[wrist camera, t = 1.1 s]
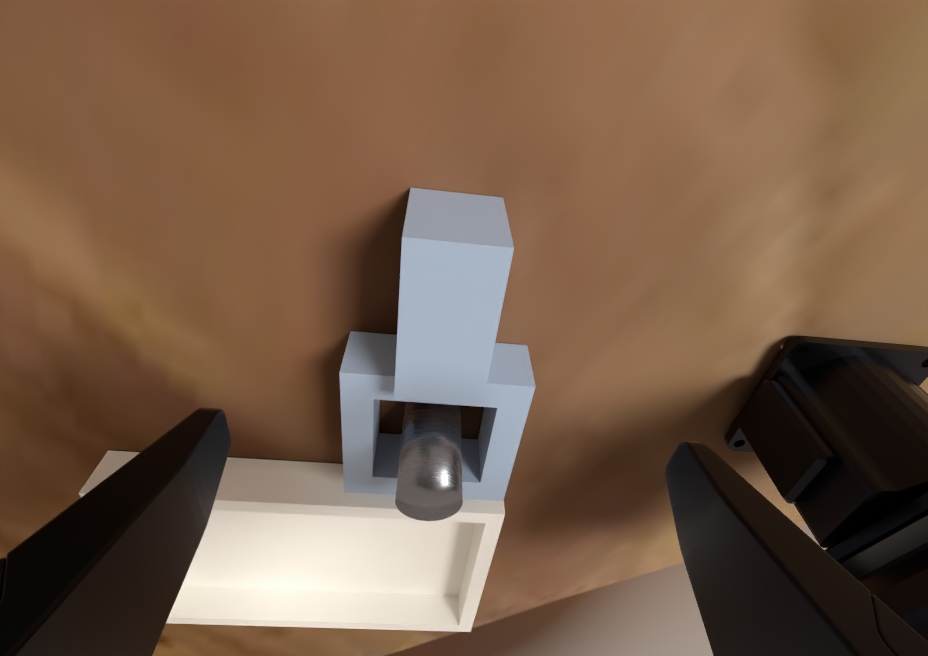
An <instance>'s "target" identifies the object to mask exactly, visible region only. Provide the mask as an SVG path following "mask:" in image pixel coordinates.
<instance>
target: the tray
mask: <svg viewBox="0 0 928 656" xmlns="http://www.w3.org/2000/svg"><path fill="white" fill-rule="evenodd" d="M139 453H140V452H126V451H109V450H108V451H107V453H106V454H105V456H104V457H103V459H102V460H101V461H100V463H99V464H98V466H97V467H96V469H95V470H94V472H93V473H92V474H91V476H90V477H89V479H88V480H87V482H86V483H85V484H84V486H83V487H82V489H81V490H80V492H79V495H80V497H82V496H84V495H85V494H86V493H87V492H89V491H90V490H91V489H93V488H94V487H95V486H97V485H98V484H99V483H101V482H102V481H103V480H105V479H106V478H107V477H109V476H110V475H111V474H112V473H114V472H115V471H116V470H118V469H119V468H120V467H122V466H123V465H124V464H126V463H127V462H128V461H130V460H131V459H132V458H134V457H135V456H136V455H137V454H139ZM395 496H396V495H384V494H365V493H346V492H344V474H343V464H335V463H318V462H300V461H283V460H266V459H248V458H231V457H227V460H226V464H225V467H224V471H223V474H222V477H221V481H220V484H219V487H218V491H217V494H216V498H215V501H214V504H213V508H212V511H211V514H210V517H209V521H208V524H207V527H206V529H205V532H204V534H203V537H202V539H201V542H200V544H199V546H198V549H197V551H196V553H195V556H194V558H193V560H192V563H191V565H190V567H189V570H188V572H187V575H186V577H185V579H184V582H183V584H182V586H181V589H180V591H179V593H178V596H177V598H176V600H175V603H174V605H173V608H172V610H171V612H170V615H169V617H168V619H167V622H166V623H174V624H209V625H244V626H280V627H315V628H350V629H385V630H421V631H456V632H471V629H472V625H473V622H474V618H475V615H476V612H477V608H478V605H479V602H480V598H481V595H482V591H483V588H484V585H485V581H486V578H487V574H488V571H489V568H490V564H491V561H492V557H493V554H494V551H495V547H496V544H497V541H498V537H499V534H500V530H501V527H502V524H503V520H504V517H505V508H504V500H503V501H499V500H480V499H463V503H462V507H461V508H460V510H459V511H458V512H457V513H456V514H454V515H453V516H451V517H449V518H446V519H443V520H438V521H421V520H416V519H412V518H410V517H407V516H406V515H404V514H403V513H401V512H400V511H399V510H398V508H397V507H396V504H395Z"/></svg>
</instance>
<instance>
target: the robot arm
mask: <svg viewBox="0 0 928 656" xmlns="http://www.w3.org/2000/svg"><path fill="white" fill-rule="evenodd" d="M927 377H928V347H924V346H912V345H901V344H889V343H878V342H866V341H855V340H843V339H832V338H820V337H809V336H797V337H794V338H792V339H790V340H789V341H788V342H787V343H786V344H785V345H784V346H783V348H782V350H781V351H780V353H779V354H778V356H777V357H776V359H775V360H774V362H773V363H772V365H771V367H770V368H769V370H768V371H767V373H766V374H765V376H764V377H763V379H762V380H761V382H760V383H759V385H758V387H757V388H756V390H755V391H754V393H753V394H752V396H751V397H750V399H749V400H748V402H747V403H746V405H745V407H744V408H743V410H742V411H741V413H740V414H739V416H738V417H737V419H736V420H735V422H734V423H733V425H732V427H731V428H730V430H729V431H728V433H727V434H726V436H725V438H724V440H725V442H726V444H727V446H728V448H729V449H731V450H734V451H750V452H755V453H756V455H757V457H758V458H759V460H760V461H761V463H762V465H763V466H764V468H765V470H766V471H767V473H768V474H769V476H770V478H771V479H772V481H773V483H774V484H775V486H776V487H777V489H778V491H779V492H780V494H781V496H782V497H783V499H784V500H785V501H786V502H787V503H791V504H794V505H795V507H796V508H797V510H798V511H799V513H800V515H801V516H802V518H803V519H804V521H805V523H806V524H807V526H808V527H809V529H810V530H811V532H812V534H813V535H814V536H815V538H816V540H817V541H818V543H819V545H820V546H821V547H823V548H827V549H826V550H823V549H822V548H821V547H820V546H819V545H818V544H817V543H816V542H814V541H813V540H812V539H811V538H810V537H809V536H808V535H807V534H805V533H804V532H803V531H802V530H801V529H800V528H799V527H798V526H797V525H795V524H794V523H793V522H792V521H791V520H790V519H789V518H788V517H786V516H785V515H784V514H783V513H782V512H781V511H780V510H779V509H777V508H776V507H775V506H774V505H773V504H772V503H771V502H770V501H768V500H767V499H766V498H765V497H764V496H763V495H762V494H761V493H760V492H758V491H757V490H756V489H755V488H754V487H753V486H752V485H751V484H749V483H748V482H747V481H746V480H745V479H744V478H743V477H742V476H740V475H739V474H738V473H737V472H736V471H735V470H734V469H733V468H731V467H730V466H729V465H728V464H727V463H726V462H725V461H724V460H723V459H721V458H720V457H719V456H718V455H717V454H716V453H715V452H714V451H712V450H711V449H710V448H709V447H708V446H707V445H706V444H704V443H702V442H698V441H682V442H680V443H679V445H678V446H677V448H676V450H675V451H674V453H673V455H672V457H671V458H670V460H669V462H668V464H667V466H666V472H665V474H666V481H667V486H668V491H669V496H670V501H671V506H672V511H673V516H674V521H675V526H676V531H677V536H678V540H679V545H680V549H681V552H682V556H683V559H684V562H685V565H686V569H687V572H688V575H689V578H690V581H691V584H692V588H693V591H694V594H695V598H696V601H697V604H698V607H699V610H700V614H701V617H702V620H703V623H704V626H705V629H706V633H707V636H708V639H709V642H710V646H711V649H712V652H713V655H714V656H928V394H927V393H926V392H925V391H924V390H923V389H922V388H921V387H920V386H919V385H920V384H921V383H922V382H923V381H924V380H925V379H926V378H927ZM230 445H231V438H230V433H229V429H228V425H227V421H226V417H225V414H224V412H223V410H221V409H215V408H199V409H197V410H195V411H194V412H193V413H191V414H190V415H189V416H187V417H186V418H185V419H183V420H182V421H181V422H180V423H178V424H177V425H176V426H174V427H173V428H172V429H170V430H169V431H168V432H166V433H165V434H164V435H162V436H161V437H160V438H158V439H157V440H156V441H155V442H153V443H152V444H151V445H149V446H148V447H147V448H145V449H144V450H143V451H141V452H140V453H139V454H137V455H136V456H135V457H134V458H132V459H131V460H130V461H128V462H127V463H126V464H124V465H123V466H122V467H120V468H119V469H118V470H116V471H115V472H114V473H112V474H111V475H110V476H109V477H107V478H106V479H105V480H103V481H102V482H101V483H99V484H98V485H97V486H95V487H94V488H93V489H91V490H90V491H89V492H87V493H86V494H85V495H84V496H82V497H81V498H80V499H78V500H77V501H76V502H74V503H73V504H72V505H70V506H69V507H68V508H66V509H65V510H64V511H63V512H61V513H60V514H59V515H57V516H56V517H55V518H53V519H52V520H51V521H49V522H48V523H47V524H45V525H44V526H43V527H41V528H40V529H39V530H38V531H36V532H35V533H34V534H32V535H31V536H30V537H28V538H27V539H26V540H24V541H23V542H22V543H20V544H19V545H18V546H16V547H15V548H14V549H13V550H11V551H10V552H9V553H7V555H6V558H1V559H0V656H152V655H153V652H154V650H155V648H156V645H157V643H158V641H159V638H160V636H161V634H162V631H163V629H164V626H165V624H166V622H167V619H168V617H169V615H170V612H171V610H172V608H173V605H174V603H175V600H176V598H177V596H178V593H179V591H180V589H181V586H182V584H183V582H184V579H185V577H186V575H187V572H188V570H189V567H190V565H191V563H192V560H193V558H194V556H195V553H196V551H197V549H198V546H199V544H200V542H201V539H202V537H203V534H204V532H205V529H206V527H207V524H208V521H209V517H210V514H211V511H212V508H213V504H214V501H215V498H216V494H217V491H218V487H219V484H220V481H221V477H222V474H223V471H224V467H225V464H226V460H227V457H228V454H229V450H230Z"/></svg>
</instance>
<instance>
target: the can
mask: <svg viewBox="0 0 928 656" xmlns="http://www.w3.org/2000/svg"><path fill="white" fill-rule="evenodd" d="M462 503H463V493H462V448H461V405H449V404H434V403H420V402H405V408H404V418H403V428H402V438H401V447H400V457H399V467H398V477H397V486H396V496H395V504H396V507H397V508H398V510H399V511H400V512H401V513H403V514H404V515H406V516H407V517H410V518H412V519H416V520H421V521H438V520H443V519H446V518H449V517H451V516H453V515H454V514H456V513H457V512H458V511H459V510H460V508H461V507H462Z"/></svg>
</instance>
